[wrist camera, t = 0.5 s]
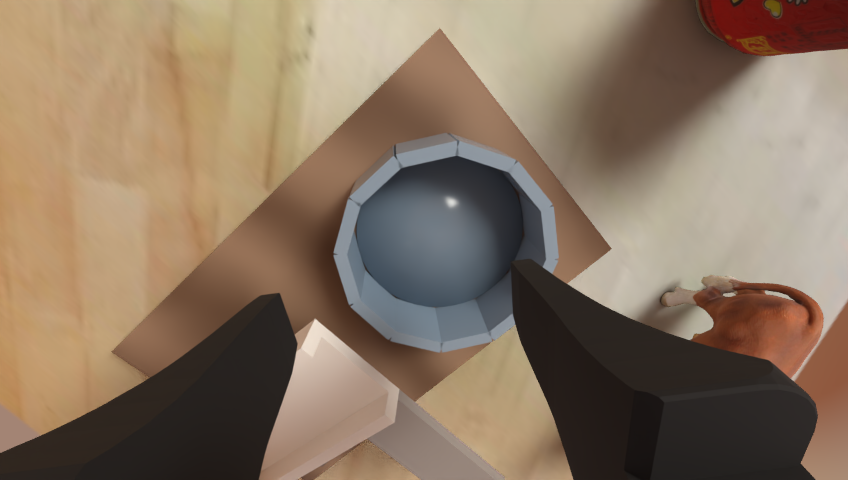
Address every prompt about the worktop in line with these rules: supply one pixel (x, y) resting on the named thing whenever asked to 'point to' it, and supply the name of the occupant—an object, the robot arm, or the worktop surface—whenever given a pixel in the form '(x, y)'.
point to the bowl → (441, 241)
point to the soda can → (777, 24)
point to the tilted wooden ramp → (357, 418)
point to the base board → (321, 220)
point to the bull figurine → (756, 320)
